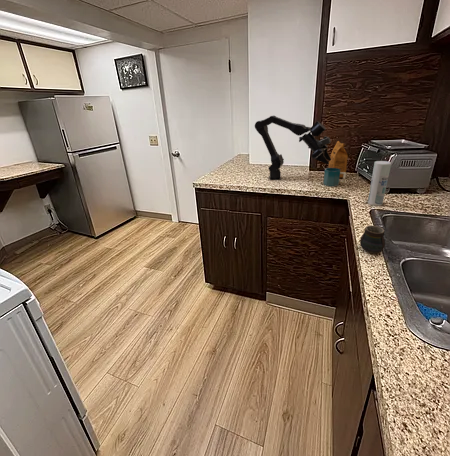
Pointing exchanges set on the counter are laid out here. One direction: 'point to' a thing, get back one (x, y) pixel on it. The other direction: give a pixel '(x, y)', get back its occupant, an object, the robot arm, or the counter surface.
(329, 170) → the mug
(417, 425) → the counter surface
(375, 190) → the spray can
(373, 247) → the mate gourd
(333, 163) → the coffee package
